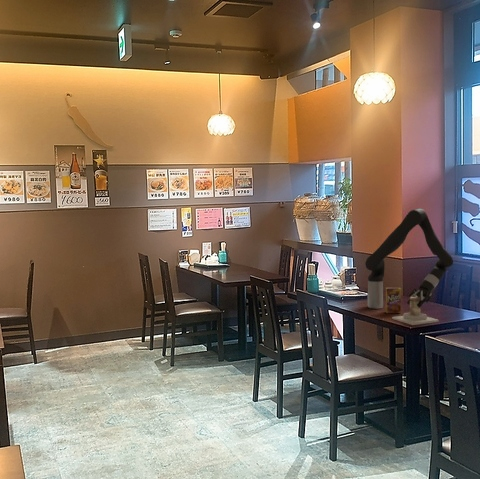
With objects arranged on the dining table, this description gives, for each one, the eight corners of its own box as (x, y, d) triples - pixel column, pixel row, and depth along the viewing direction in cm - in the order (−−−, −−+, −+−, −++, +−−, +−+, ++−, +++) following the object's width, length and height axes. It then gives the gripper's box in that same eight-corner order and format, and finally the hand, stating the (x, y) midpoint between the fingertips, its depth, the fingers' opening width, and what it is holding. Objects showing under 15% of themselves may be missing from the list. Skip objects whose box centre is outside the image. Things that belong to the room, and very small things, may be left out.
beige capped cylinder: (409, 317, 333) (409, 297, 332) (415, 317, 335) (415, 296, 334) (414, 319, 329) (415, 298, 328) (420, 318, 331) (420, 297, 330)
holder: (392, 319, 337) (392, 312, 336) (417, 315, 344) (417, 309, 343) (412, 325, 320) (412, 318, 320) (438, 321, 327) (438, 315, 327)
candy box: (385, 313, 354) (385, 288, 353) (385, 311, 358) (385, 287, 357) (400, 313, 352) (401, 288, 351) (400, 311, 357) (400, 287, 355)
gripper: (417, 278, 340) (401, 299, 336) (434, 281, 326) (417, 303, 323) (424, 286, 342) (408, 307, 338) (441, 289, 329) (425, 311, 325)
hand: (413, 305), depth 331 cm, fingers open, 8 cm apart
